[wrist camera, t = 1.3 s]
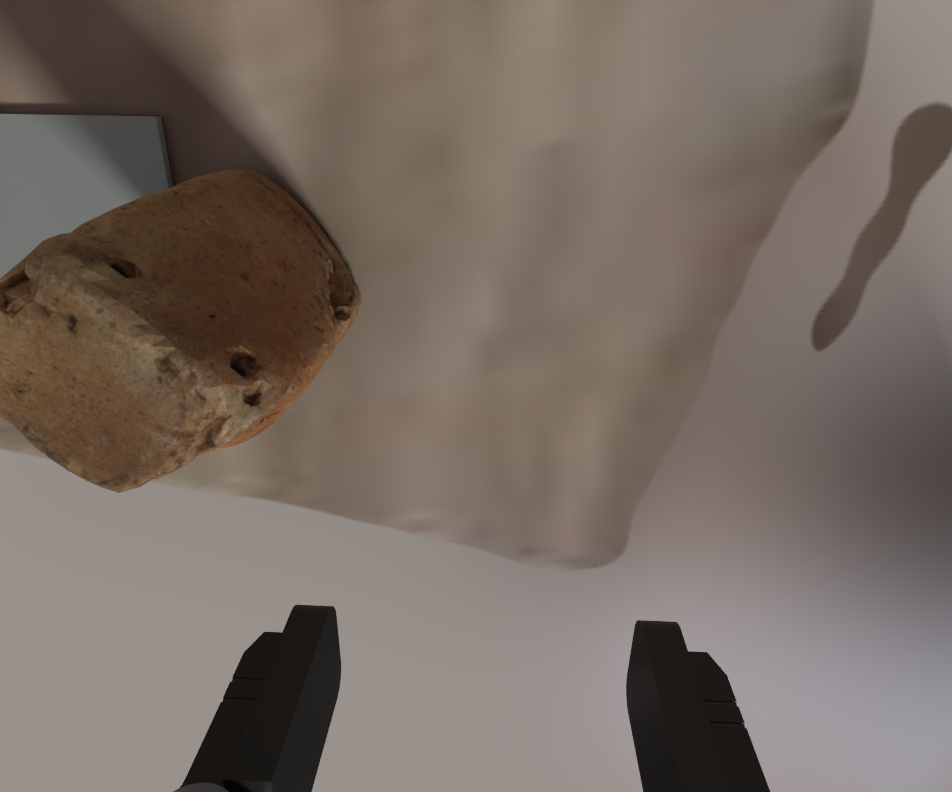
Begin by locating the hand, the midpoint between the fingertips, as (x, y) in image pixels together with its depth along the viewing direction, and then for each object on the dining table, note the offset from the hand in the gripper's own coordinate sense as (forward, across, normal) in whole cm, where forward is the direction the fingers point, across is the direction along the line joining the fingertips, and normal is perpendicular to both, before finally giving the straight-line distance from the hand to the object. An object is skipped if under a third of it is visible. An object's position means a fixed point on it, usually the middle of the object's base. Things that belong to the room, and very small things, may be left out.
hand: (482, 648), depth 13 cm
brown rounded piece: (+30, +13, 0) cm, 32 cm away
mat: (+30, +26, 0) cm, 39 cm away
